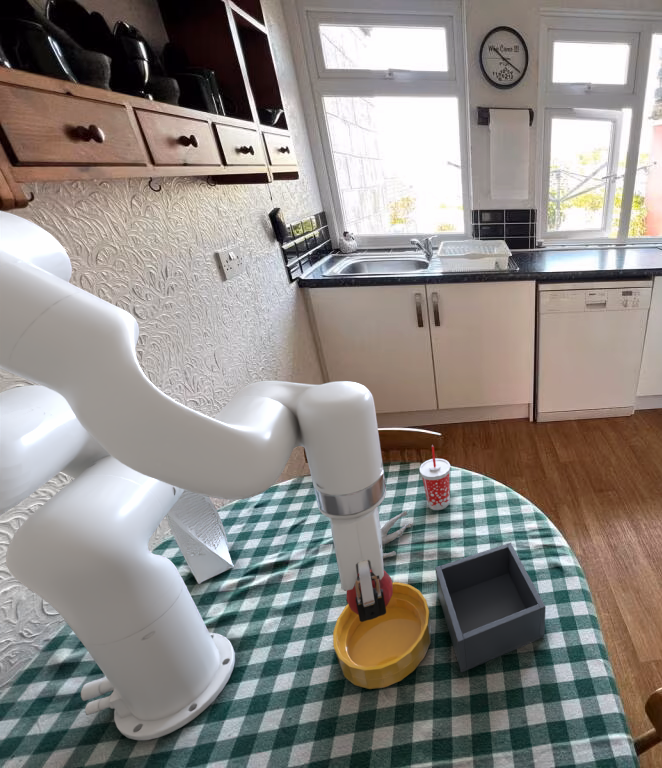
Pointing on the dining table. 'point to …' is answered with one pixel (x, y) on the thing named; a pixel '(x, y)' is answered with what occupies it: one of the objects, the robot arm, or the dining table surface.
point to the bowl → (384, 640)
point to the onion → (384, 584)
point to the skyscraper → (200, 535)
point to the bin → (489, 605)
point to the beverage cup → (436, 482)
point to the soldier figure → (394, 535)
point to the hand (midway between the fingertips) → (370, 594)
